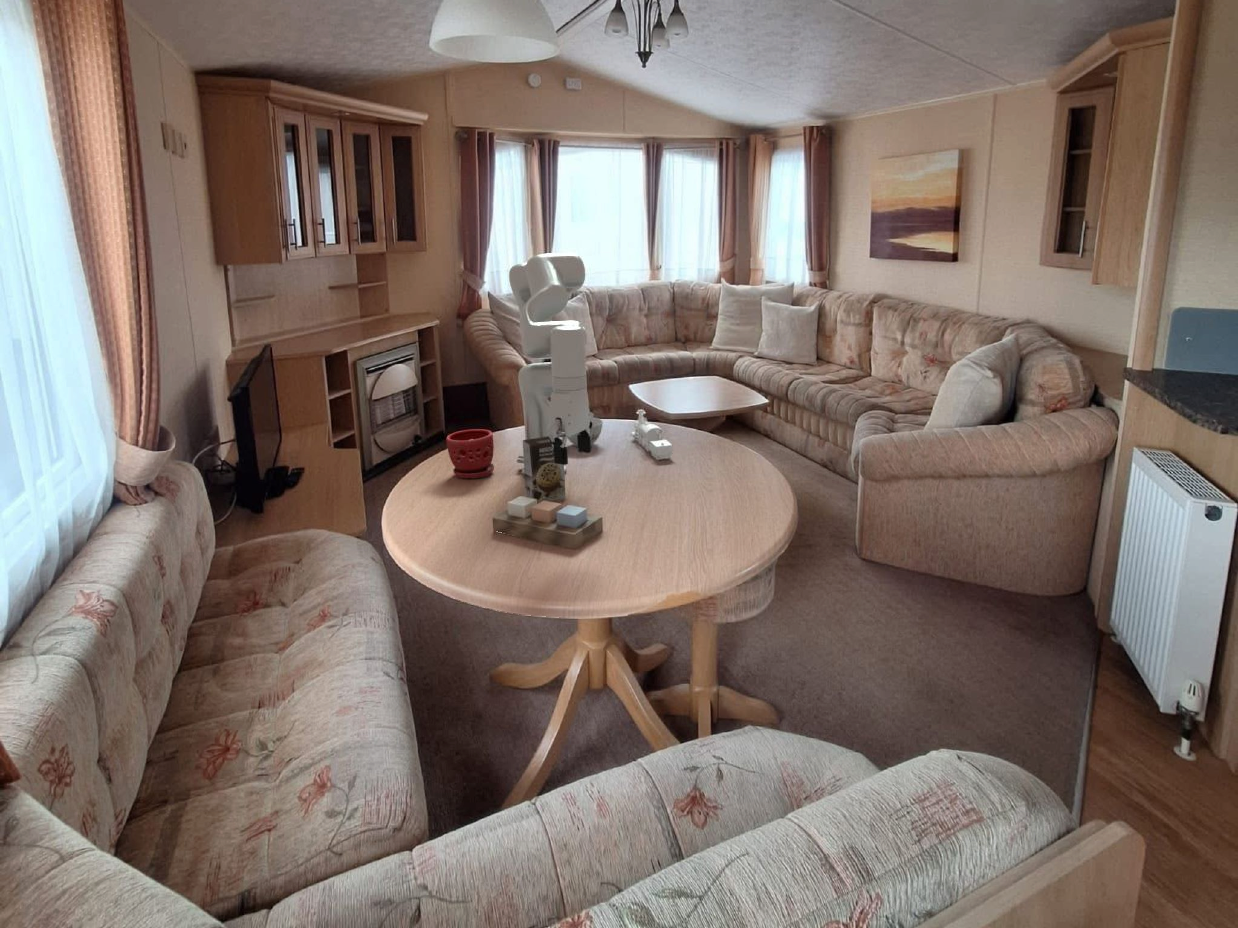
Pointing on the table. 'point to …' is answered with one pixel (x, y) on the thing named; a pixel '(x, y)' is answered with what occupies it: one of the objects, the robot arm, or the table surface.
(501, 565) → the table surface
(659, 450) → the toy train
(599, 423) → the teacup
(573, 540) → the key panel
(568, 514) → the key blue
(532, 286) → the robot arm
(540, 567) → the table surface
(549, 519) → the key terracotta
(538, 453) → the coffee box
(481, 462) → the plant pot
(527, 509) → the key white
